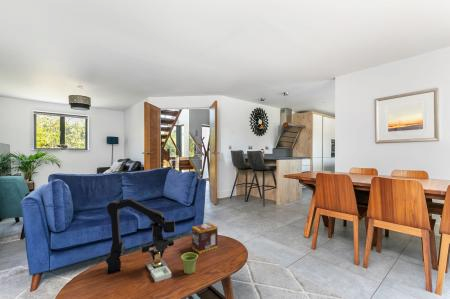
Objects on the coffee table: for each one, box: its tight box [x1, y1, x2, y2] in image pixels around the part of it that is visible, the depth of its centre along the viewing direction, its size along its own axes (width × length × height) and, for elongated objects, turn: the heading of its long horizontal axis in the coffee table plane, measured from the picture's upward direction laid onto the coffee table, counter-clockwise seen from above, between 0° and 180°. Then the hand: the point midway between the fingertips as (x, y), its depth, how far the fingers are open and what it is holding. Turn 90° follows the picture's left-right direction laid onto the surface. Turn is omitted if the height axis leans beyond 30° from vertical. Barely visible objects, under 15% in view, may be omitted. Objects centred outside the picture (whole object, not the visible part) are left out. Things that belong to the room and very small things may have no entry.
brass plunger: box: [152, 261, 162, 268], centre depth 130 cm, size 5×5×2 cm
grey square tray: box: [145, 258, 169, 274], centre depth 130 cm, size 10×10×1 cm
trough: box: [150, 266, 172, 283], centre depth 121 cm, size 9×9×2 cm
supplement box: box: [191, 222, 218, 254], centre depth 156 cm, size 10×15×16 cm
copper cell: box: [153, 249, 162, 264], centre depth 130 cm, size 4×4×7 cm
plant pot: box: [180, 252, 199, 275], centre depth 125 cm, size 9×9×9 cm
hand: (157, 259), depth 130 cm, fingers closed on copper cell, 4 cm apart
